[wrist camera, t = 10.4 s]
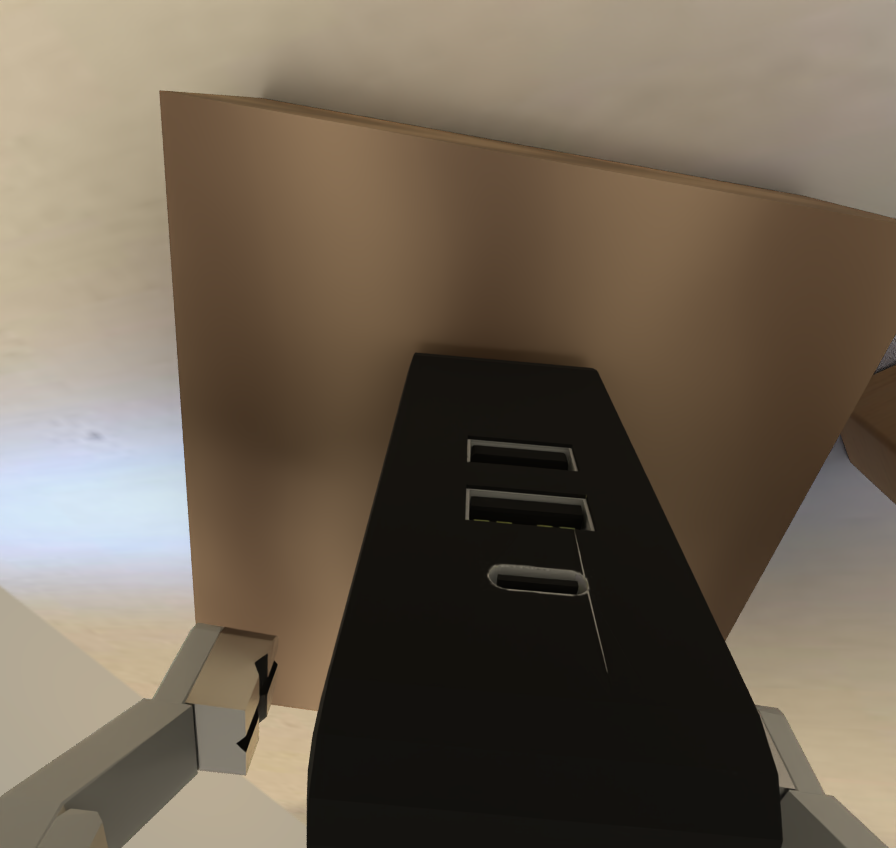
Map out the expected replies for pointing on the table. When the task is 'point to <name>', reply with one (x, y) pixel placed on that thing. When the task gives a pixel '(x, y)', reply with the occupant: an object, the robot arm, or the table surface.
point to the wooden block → (875, 432)
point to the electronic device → (529, 641)
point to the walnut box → (487, 337)
